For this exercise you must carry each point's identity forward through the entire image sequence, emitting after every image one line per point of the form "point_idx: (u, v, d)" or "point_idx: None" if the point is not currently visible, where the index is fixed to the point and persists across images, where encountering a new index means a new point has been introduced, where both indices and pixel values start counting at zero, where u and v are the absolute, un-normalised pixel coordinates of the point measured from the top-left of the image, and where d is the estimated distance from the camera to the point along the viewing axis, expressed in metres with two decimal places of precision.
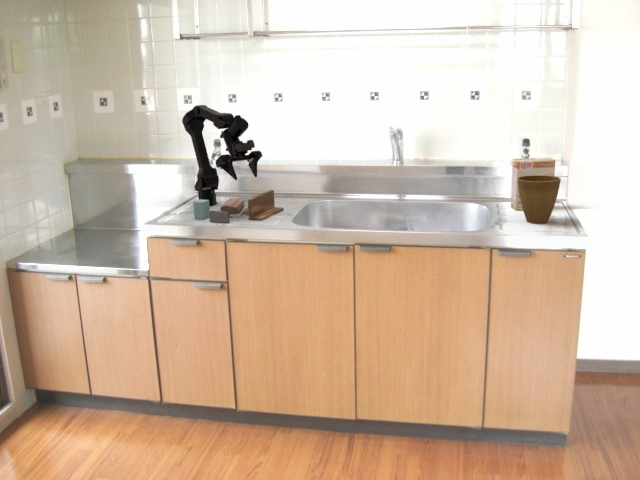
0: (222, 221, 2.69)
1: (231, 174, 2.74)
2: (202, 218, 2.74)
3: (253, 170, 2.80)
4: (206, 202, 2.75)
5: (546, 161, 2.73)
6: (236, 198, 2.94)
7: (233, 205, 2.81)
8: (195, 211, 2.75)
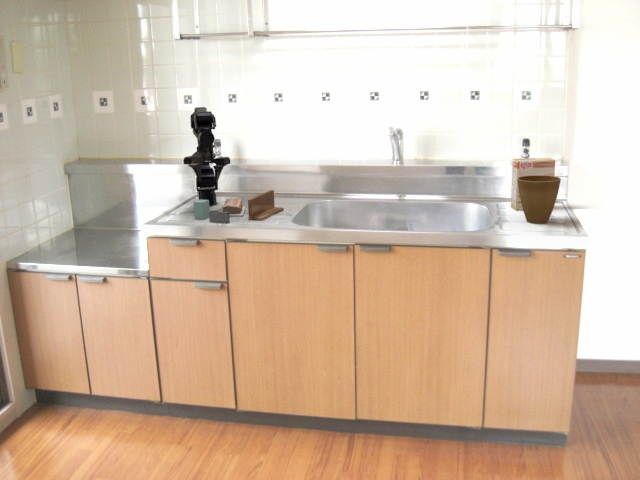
0: (222, 221, 2.69)
1: None
2: (202, 218, 2.74)
3: None
4: (206, 202, 2.75)
5: (546, 161, 2.73)
6: (233, 198, 2.94)
7: (235, 205, 2.81)
8: (195, 211, 2.75)
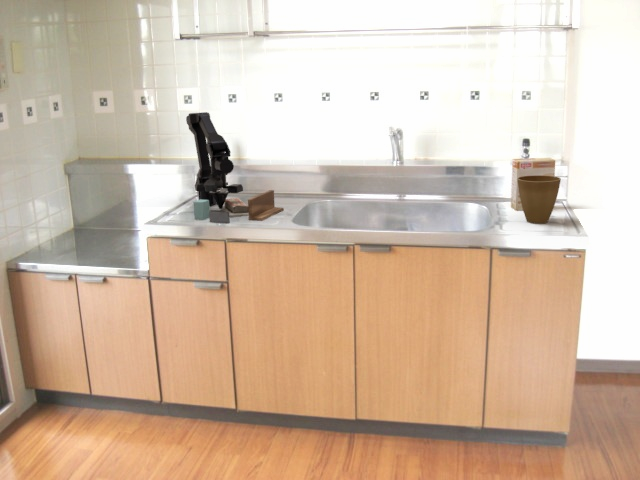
0: (222, 221, 2.69)
1: None
2: (202, 218, 2.74)
3: None
4: (206, 202, 2.75)
5: (546, 161, 2.73)
6: None
7: (243, 204, 2.82)
8: (195, 211, 2.75)
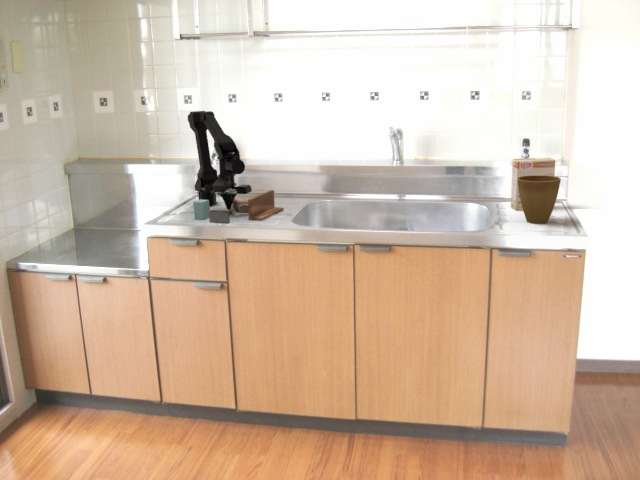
0: (222, 221, 2.69)
1: None
2: (202, 218, 2.74)
3: None
4: (206, 202, 2.75)
5: (546, 161, 2.73)
6: None
7: None
8: (195, 211, 2.75)
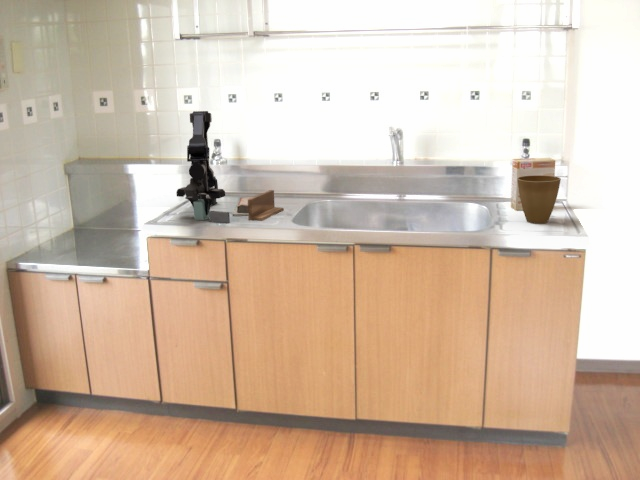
0: (222, 221, 2.69)
1: None
2: (202, 218, 2.74)
3: None
4: None
5: (546, 161, 2.73)
6: None
7: None
8: (195, 211, 2.75)
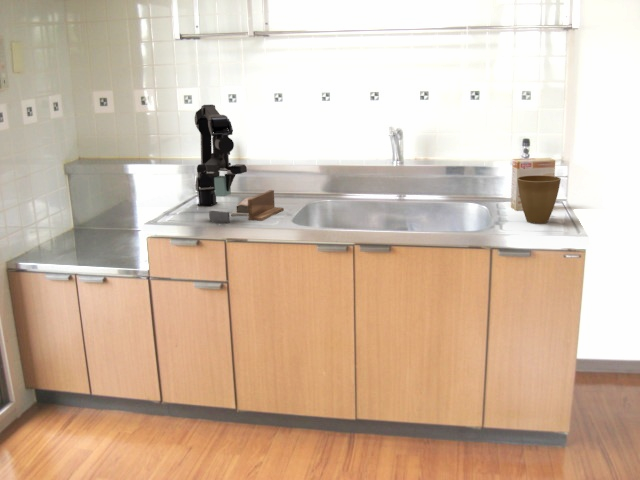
0: (222, 221, 2.69)
1: None
2: (223, 194, 2.68)
3: None
4: None
5: (546, 161, 2.73)
6: None
7: None
8: (216, 187, 2.69)
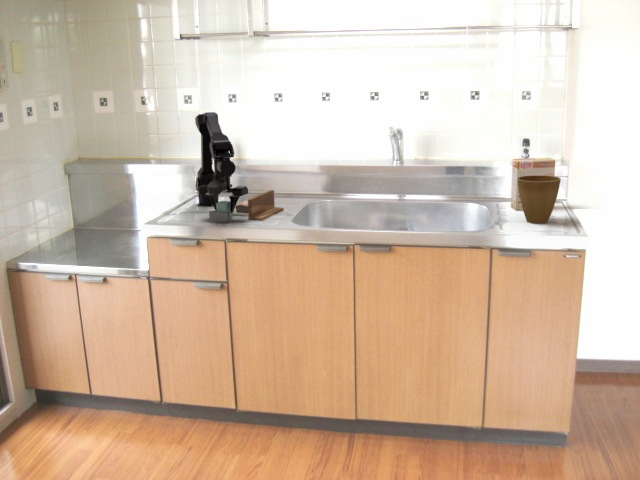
0: (222, 221, 2.69)
1: None
2: None
3: None
4: (228, 204, 2.72)
5: (546, 161, 2.73)
6: None
7: None
8: None
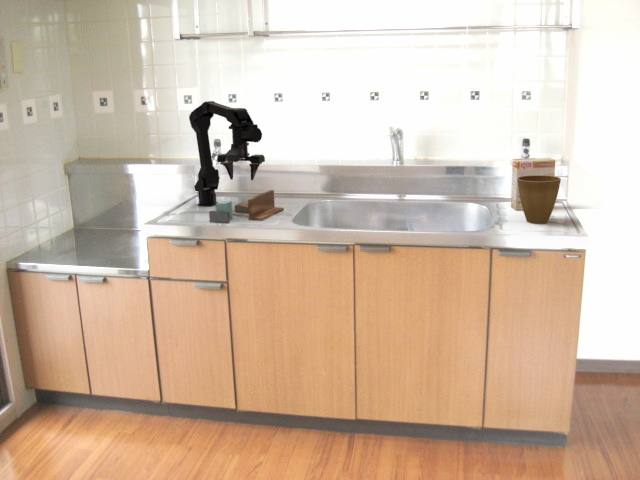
0: (222, 221, 2.69)
1: None
2: None
3: None
4: (228, 204, 2.72)
5: (546, 161, 2.73)
6: None
7: (247, 205, 2.81)
8: None
